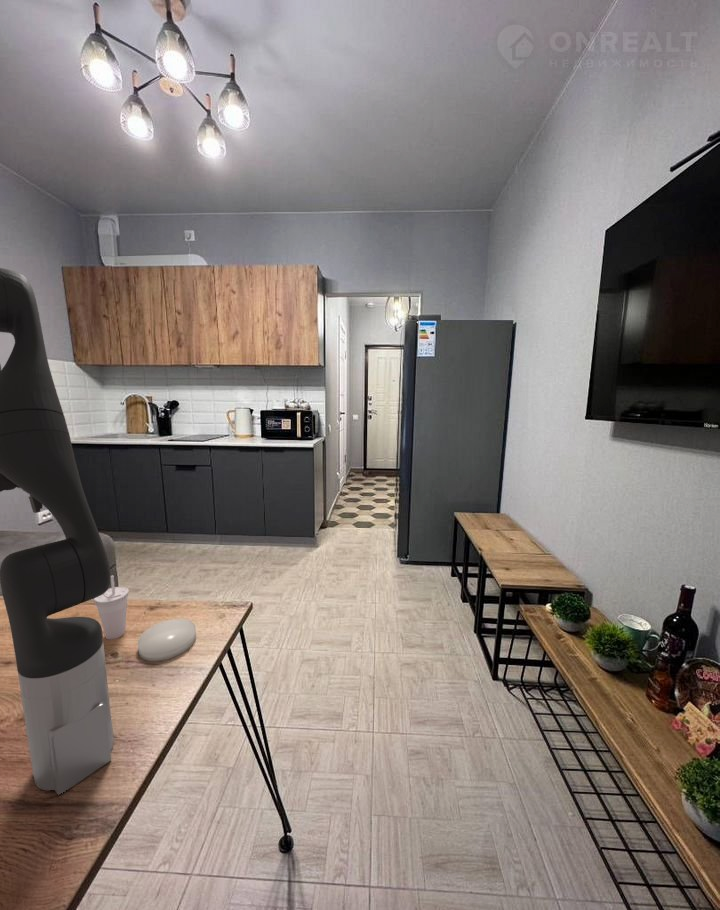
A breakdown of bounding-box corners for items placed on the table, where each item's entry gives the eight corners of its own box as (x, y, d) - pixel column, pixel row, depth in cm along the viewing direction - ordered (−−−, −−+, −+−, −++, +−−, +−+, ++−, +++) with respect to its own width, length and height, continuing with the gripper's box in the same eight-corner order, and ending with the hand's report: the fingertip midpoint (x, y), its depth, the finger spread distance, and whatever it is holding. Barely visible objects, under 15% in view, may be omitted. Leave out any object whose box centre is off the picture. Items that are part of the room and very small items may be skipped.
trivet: (205, 640, 78) (205, 631, 78) (152, 669, 70) (151, 660, 69) (181, 620, 85) (180, 612, 85) (129, 645, 76) (129, 636, 76)
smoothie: (116, 645, 76) (110, 584, 74) (90, 641, 77) (83, 581, 75) (139, 626, 82) (134, 570, 80) (114, 623, 83) (109, 567, 81)
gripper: (-60, 449, 66) (-32, 532, 68) (38, 437, 77) (59, 508, 80) (-68, 452, 70) (-42, 530, 72) (27, 440, 81) (46, 507, 84)
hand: (11, 518), depth 76 cm, fingers open, 8 cm apart
